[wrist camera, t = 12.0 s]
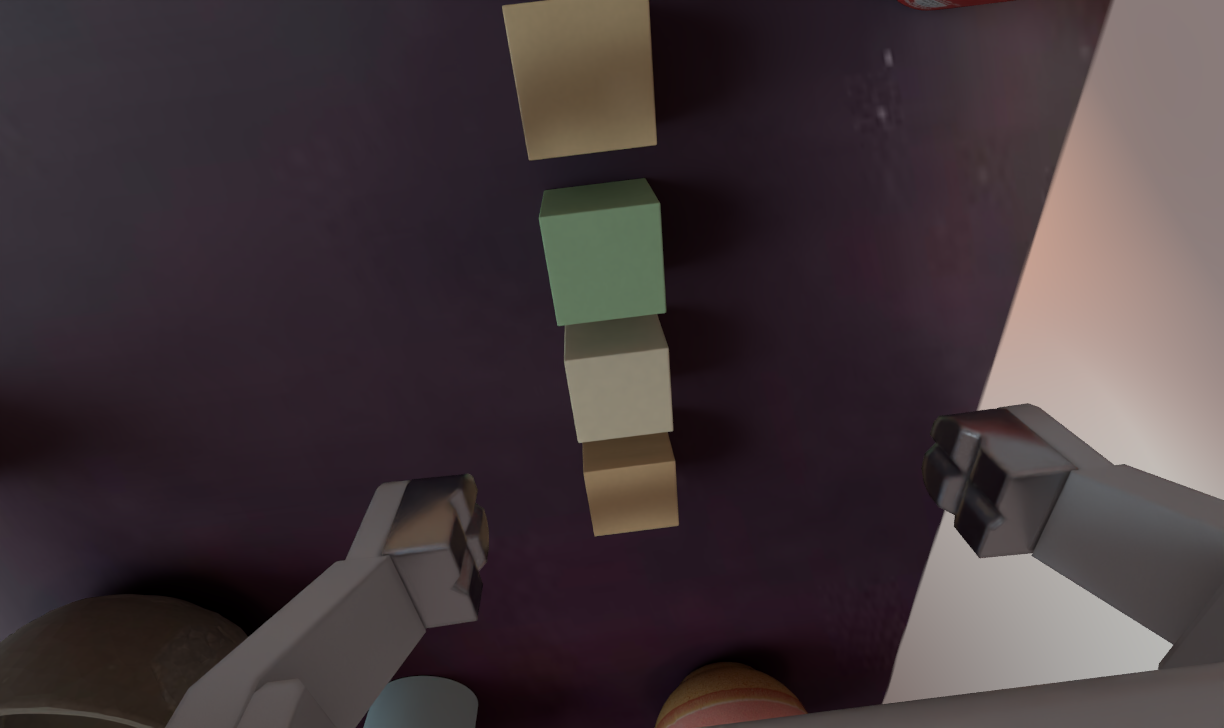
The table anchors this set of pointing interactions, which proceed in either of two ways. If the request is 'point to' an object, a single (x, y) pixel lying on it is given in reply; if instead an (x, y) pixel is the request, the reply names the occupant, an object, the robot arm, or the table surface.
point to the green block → (604, 251)
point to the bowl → (109, 662)
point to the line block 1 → (582, 75)
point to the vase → (727, 698)
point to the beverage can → (944, 3)
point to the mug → (423, 704)
